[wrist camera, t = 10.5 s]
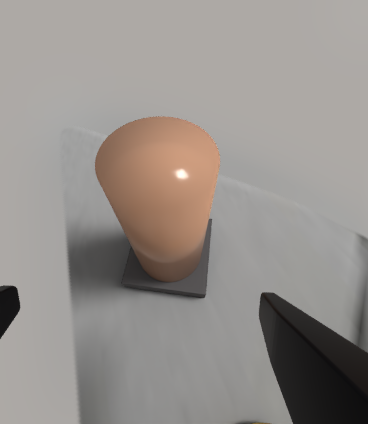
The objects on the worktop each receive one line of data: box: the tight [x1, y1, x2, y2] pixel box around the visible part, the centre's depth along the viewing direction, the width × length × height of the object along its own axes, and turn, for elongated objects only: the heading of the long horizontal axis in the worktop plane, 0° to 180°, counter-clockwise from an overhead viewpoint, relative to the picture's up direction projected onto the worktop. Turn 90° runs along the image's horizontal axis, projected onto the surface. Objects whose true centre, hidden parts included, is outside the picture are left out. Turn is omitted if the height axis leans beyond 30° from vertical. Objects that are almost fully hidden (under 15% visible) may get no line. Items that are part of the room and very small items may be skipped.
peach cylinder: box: [95, 117, 220, 282], centre depth 17 cm, size 6×6×12 cm
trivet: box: [122, 219, 212, 298], centre depth 23 cm, size 8×8×2 cm
